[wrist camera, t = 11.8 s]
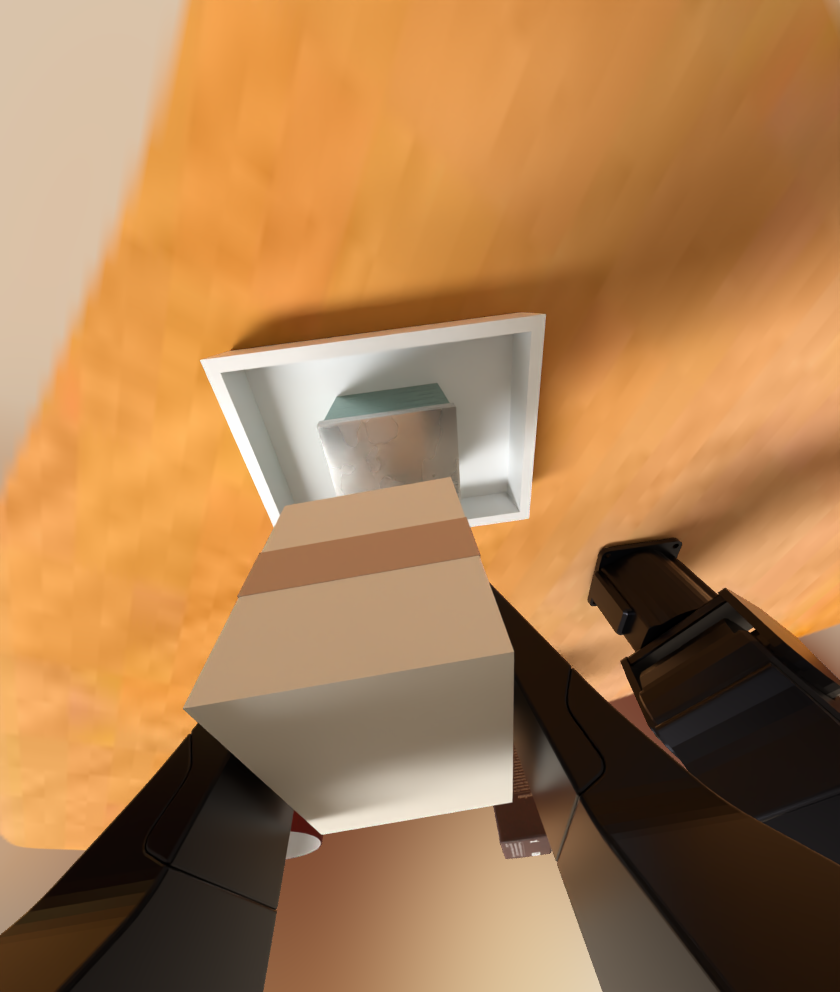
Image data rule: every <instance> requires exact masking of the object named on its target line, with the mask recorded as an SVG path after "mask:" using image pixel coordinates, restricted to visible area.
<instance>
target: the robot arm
mask: <svg viewBox="0 0 840 992" xmlns="http://www.w3.org/2000/svg"><path fill="white" fill-rule="evenodd" d="M681 546H682V542H681V541H679V540H678V539H677V538H671V539H664V540H657V541H650V542H644V543H637V544H630V545H623V546H616V547H609V548H604V549H602V550H601V551H600V552H599V555H598V559H597V563H596V567H595V571H594V575H593V579H592V583H591V587H590V591H589V596H588V602H589V604H590V605H591V606H598V608H599V609H600V611H601V612H602V613H603V615H604V616H605V618H606V619H607V621H608V622H609V624H610V625H611V627H612V628H613V629H614V631H615V632H616V633H617V634H618V635H624V636H625V638H626V639H627V641H628V642H629V643H630V645H631V646H632V648H633V649H634V650H635V653H633V654H632V655H630V656H629V657H625V658H624V659H622V660H621V661H620V662H621V664H622V667H623V669H624V671H625V674H626V677H627V679H628V681H629V683H630V686H631V688H632V690H633V692H634V695H635V697H636V699H637V701H638V704H639V706H640V708H641V710H642V712H643V715H644V717H645V719H646V722H647V724H648V726H649V727H650V729H651V730H652V731H653V732H654V734H655V735H656V737H657V738H658V739H659V740H661V741H662V742H663V744H664V745H665V746H666V747H667V748H668V749H669V750H670V751H671V752H672V753H673V754H674V755H675V756H676V757H678V758H679V759H680V760H681V762H682V763H683V764H684V766H685V767H686V769H687V770H688V771H687V770H686V769H685V768H684V767H683V766H681V765H680V764H679V763H678V762H677V761H676V760H674V759H673V758H672V757H671V756H670V755H669V754H667V753H666V752H665V751H664V750H663V749H661V748H660V747H659V746H658V745H657V744H656V743H654V742H653V741H652V740H651V739H650V738H649V737H647V736H646V735H645V734H644V733H643V732H642V731H640V730H639V729H638V728H637V727H636V726H635V725H633V724H632V723H631V722H630V721H629V720H628V719H627V718H625V717H624V716H623V715H622V714H621V713H620V712H618V711H617V710H616V709H615V708H614V707H613V706H612V705H611V704H610V703H608V702H607V701H606V700H605V699H604V698H603V697H602V696H601V695H600V694H599V693H598V692H597V691H596V690H595V689H594V688H593V687H592V686H591V685H590V684H589V683H588V682H587V681H586V680H585V679H584V678H583V677H582V676H581V675H580V674H579V673H578V672H577V671H576V670H575V669H574V668H572V669H571V665H570V664H569V663H568V662H567V661H566V660H565V659H564V658H563V657H562V656H561V655H560V654H559V653H558V652H557V651H556V650H555V649H554V648H553V647H552V646H551V645H550V644H549V643H548V642H547V641H546V640H545V639H544V638H543V637H542V636H541V635H540V634H539V633H538V632H537V630H536V629H535V628H534V627H533V626H532V625H531V624H530V623H529V622H528V621H527V620H526V619H525V618H524V617H523V616H522V615H521V614H520V613H519V612H518V611H517V610H516V609H515V608H514V607H513V606H512V605H511V604H510V603H509V602H508V601H507V600H506V599H505V598H504V597H503V596H502V595H501V594H500V593H499V592H498V591H497V590H496V589H495V588H494V587H493V586H492V585H491V584H490V583H489V584H490V587H491V589H492V592H493V595H494V598H495V600H496V603H497V606H498V609H499V611H500V614H501V617H502V620H503V623H504V625H505V628H506V631H507V634H508V636H509V639H510V642H511V645H512V647H513V650H514V701H513V743H514V745H515V748H516V751H517V754H518V756H519V759H520V762H521V765H522V768H523V770H524V773H525V776H526V779H527V782H528V784H529V787H530V790H531V793H532V796H533V798H534V801H535V804H536V807H537V810H538V812H539V815H540V818H541V821H542V824H543V826H544V829H545V832H546V835H547V838H548V840H549V843H550V846H551V849H552V851H553V854H554V857H555V859H556V861H557V866H558V868H559V871H560V874H561V877H562V880H563V882H564V885H565V888H566V891H567V894H568V896H569V899H570V902H571V905H572V907H573V910H574V913H575V916H576V919H577V921H578V924H579V927H580V930H581V933H582V935H583V938H584V941H585V944H586V947H587V949H588V952H589V955H590V958H591V961H592V963H593V966H594V969H595V972H596V974H597V977H598V980H599V983H600V986H601V989H602V991H603V992H840V697H839V696H840V680H839V679H838V678H837V677H836V676H835V675H834V674H833V673H832V672H831V671H830V670H829V669H828V668H827V667H826V666H825V665H824V664H823V663H822V662H821V661H820V660H819V659H818V658H817V657H816V656H815V655H814V654H813V653H812V652H811V651H810V650H809V649H808V648H807V647H806V646H805V645H804V644H803V643H802V642H801V641H800V640H799V639H798V638H797V637H796V636H794V635H793V634H792V633H791V632H789V631H788V630H787V629H786V628H784V627H783V626H782V625H780V624H779V623H778V622H777V621H775V620H774V619H773V618H772V617H770V616H769V615H768V614H767V613H765V612H764V611H763V610H761V609H760V608H759V607H757V606H755V605H754V604H752V603H750V602H749V601H747V600H745V599H744V598H742V597H740V596H739V595H737V594H735V593H734V592H732V591H730V590H729V589H727V588H724V589H722V590H721V591H720V592H718V594H717V593H715V592H714V591H713V590H712V589H711V588H710V587H709V586H708V585H706V584H705V583H704V582H703V581H702V580H701V579H700V578H698V577H697V576H696V575H695V574H694V573H693V572H692V571H691V570H689V569H688V568H687V567H686V566H685V565H684V564H683V563H682V562H680V561H679V560H678V559H677V556H678V553H679V551H680V548H681ZM753 627H754V628H755V629H756V630H754V631H752V632H751V633H750V632H748V630H750V629H751V628H753ZM293 813H294V809H293V808H292V807H291V806H289V805H288V804H287V803H286V802H285V801H284V800H283V799H282V798H281V797H280V796H278V795H277V794H276V793H275V792H274V791H273V790H272V789H271V788H270V787H269V786H267V785H266V784H265V783H264V782H263V781H262V780H261V779H260V778H259V777H257V776H256V775H255V774H254V773H253V772H252V771H251V770H250V769H249V768H248V767H246V766H245V765H244V764H243V763H242V762H241V761H240V760H239V759H238V758H237V757H235V756H234V755H233V754H232V753H231V752H230V751H229V750H228V749H227V748H226V747H224V746H223V745H222V744H221V743H220V742H219V741H218V740H217V739H216V738H215V737H213V736H212V735H211V734H210V733H209V732H208V731H207V730H206V729H205V728H204V727H202V726H201V725H200V724H199V723H197V725H196V726H195V727H194V728H193V730H192V732H191V734H188V735H187V737H186V738H185V739H184V740H183V742H182V743H181V744H180V745H179V746H178V748H177V749H176V750H175V751H174V752H173V754H172V755H171V756H170V757H169V758H168V760H167V761H166V762H165V763H164V764H163V765H162V767H161V768H160V769H159V770H158V771H157V773H156V774H155V775H154V776H153V777H152V778H151V780H150V781H149V782H148V783H147V784H146V785H145V786H144V787H143V788H142V790H141V791H140V792H139V793H138V794H137V795H136V796H135V797H134V799H133V800H132V801H131V802H130V803H129V804H128V805H127V806H126V807H125V809H124V810H123V811H122V812H121V813H120V814H119V815H118V816H117V817H116V818H115V819H114V821H113V822H112V823H111V824H110V825H109V826H108V827H107V828H106V829H105V830H104V831H103V832H102V834H101V835H100V836H99V837H98V838H97V839H96V840H95V841H94V842H93V843H92V844H91V846H90V847H89V848H88V849H87V850H86V851H85V852H84V853H83V854H82V855H81V856H80V858H79V859H78V860H77V861H76V862H75V863H74V864H73V865H72V866H71V867H70V868H69V870H68V871H67V872H66V873H65V874H64V875H63V876H62V877H61V878H60V879H59V880H58V881H57V883H56V884H55V885H54V886H53V887H52V888H51V889H50V890H49V891H48V892H47V893H46V894H45V895H44V896H43V897H42V898H41V899H40V900H39V901H38V902H37V903H36V904H35V905H34V906H33V907H32V908H31V909H30V910H29V911H28V912H26V913H25V914H24V915H23V916H22V917H21V918H20V919H19V920H17V921H16V922H15V923H14V924H13V925H12V926H11V927H9V928H8V929H7V930H6V931H4V932H3V933H2V934H1V935H0V992H263V990H264V984H265V978H266V972H267V967H268V960H269V955H270V948H271V943H272V937H273V931H274V925H275V919H276V914H277V911H276V909H277V906H278V901H279V895H280V889H281V883H282V877H283V871H284V866H285V860H286V854H287V848H288V842H289V836H290V831H291V825H292V819H293Z"/></svg>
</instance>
